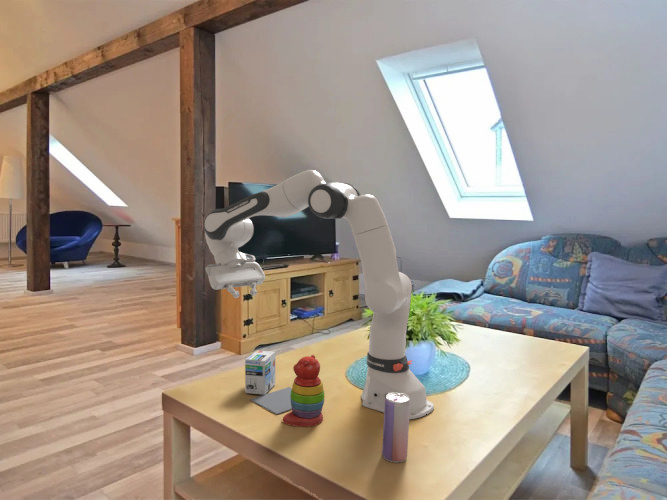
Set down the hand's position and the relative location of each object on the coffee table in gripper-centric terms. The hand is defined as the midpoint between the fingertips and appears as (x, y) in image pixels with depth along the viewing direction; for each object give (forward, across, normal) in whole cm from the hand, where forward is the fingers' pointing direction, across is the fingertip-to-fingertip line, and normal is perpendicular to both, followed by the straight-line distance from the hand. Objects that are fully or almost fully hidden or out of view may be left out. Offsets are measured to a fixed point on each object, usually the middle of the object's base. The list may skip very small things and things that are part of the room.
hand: (246, 295), depth 166 cm
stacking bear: (+47, -6, -8) cm, 48 cm away
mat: (+37, -3, +2) cm, 37 cm away
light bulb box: (+29, -3, +10) cm, 31 cm away
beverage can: (+67, -3, -28) cm, 73 cm away
